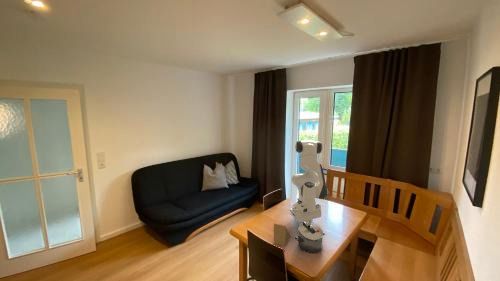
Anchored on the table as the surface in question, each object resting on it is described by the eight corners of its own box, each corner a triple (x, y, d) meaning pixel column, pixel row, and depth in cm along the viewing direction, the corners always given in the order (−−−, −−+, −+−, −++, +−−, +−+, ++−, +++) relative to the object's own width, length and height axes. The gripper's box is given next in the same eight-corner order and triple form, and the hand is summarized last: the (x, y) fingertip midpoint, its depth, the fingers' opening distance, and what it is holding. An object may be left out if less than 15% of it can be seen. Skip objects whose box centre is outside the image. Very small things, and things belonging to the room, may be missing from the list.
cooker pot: (290, 243, 149) (290, 232, 148) (314, 236, 158) (314, 225, 157) (305, 257, 135) (305, 244, 134) (330, 248, 144) (330, 236, 143)
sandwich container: (291, 235, 159) (292, 217, 158) (285, 246, 146) (285, 226, 144) (281, 232, 163) (281, 214, 162) (273, 243, 150) (273, 223, 148)
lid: (293, 225, 149) (294, 222, 148) (311, 220, 156) (312, 217, 155) (309, 244, 134) (310, 240, 133) (328, 237, 141) (329, 234, 140)
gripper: (317, 202, 152) (316, 220, 153) (294, 207, 143) (293, 226, 145) (323, 205, 146) (323, 224, 148) (300, 210, 138) (299, 230, 139)
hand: (308, 225), depth 146 cm, fingers closed, pressing on lid
